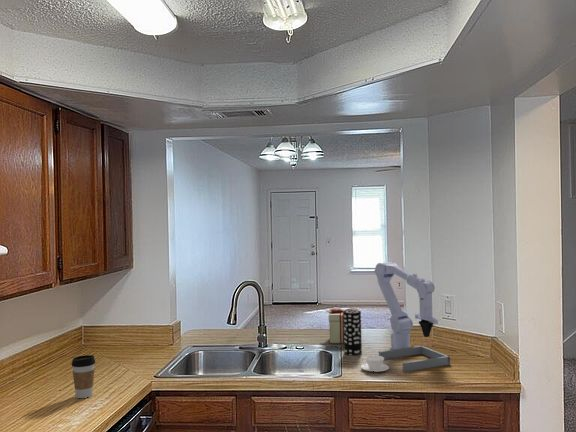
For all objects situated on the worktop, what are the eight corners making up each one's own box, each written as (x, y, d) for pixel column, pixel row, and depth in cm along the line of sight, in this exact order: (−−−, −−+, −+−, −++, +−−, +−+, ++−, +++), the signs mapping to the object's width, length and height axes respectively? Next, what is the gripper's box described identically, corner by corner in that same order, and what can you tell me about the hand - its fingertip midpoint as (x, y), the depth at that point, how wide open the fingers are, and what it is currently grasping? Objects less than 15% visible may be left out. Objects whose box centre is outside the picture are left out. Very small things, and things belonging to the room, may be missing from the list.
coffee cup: (84, 401, 182) (83, 360, 182) (67, 398, 185) (66, 358, 185) (100, 393, 190) (100, 354, 190) (83, 391, 193) (83, 353, 193)
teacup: (361, 365, 219) (361, 353, 219) (388, 366, 217) (388, 354, 217) (360, 374, 208) (360, 361, 208) (389, 375, 205) (389, 362, 205)
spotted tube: (363, 351, 241) (362, 310, 241) (358, 356, 233) (358, 313, 233) (347, 350, 244) (346, 309, 244) (342, 354, 237) (341, 312, 237)
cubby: (378, 359, 228) (378, 351, 228) (421, 353, 237) (421, 345, 237) (404, 371, 209) (404, 363, 209) (450, 364, 217) (450, 356, 217)
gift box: (356, 335, 274) (356, 304, 274) (360, 344, 255) (359, 310, 255) (325, 335, 274) (325, 304, 274) (327, 344, 256) (326, 311, 256)
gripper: (409, 305, 236) (410, 334, 236) (428, 310, 222) (429, 341, 222) (421, 304, 238) (422, 332, 238) (441, 309, 224) (442, 339, 224)
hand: (426, 336), depth 230 cm, fingers closed
